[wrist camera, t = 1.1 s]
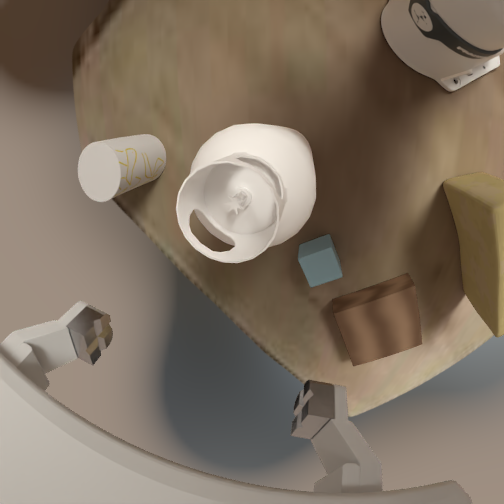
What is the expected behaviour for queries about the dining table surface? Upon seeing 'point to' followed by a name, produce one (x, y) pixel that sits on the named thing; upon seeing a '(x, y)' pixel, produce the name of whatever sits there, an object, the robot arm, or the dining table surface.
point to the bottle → (249, 189)
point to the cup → (120, 165)
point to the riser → (379, 320)
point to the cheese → (480, 242)
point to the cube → (319, 261)
